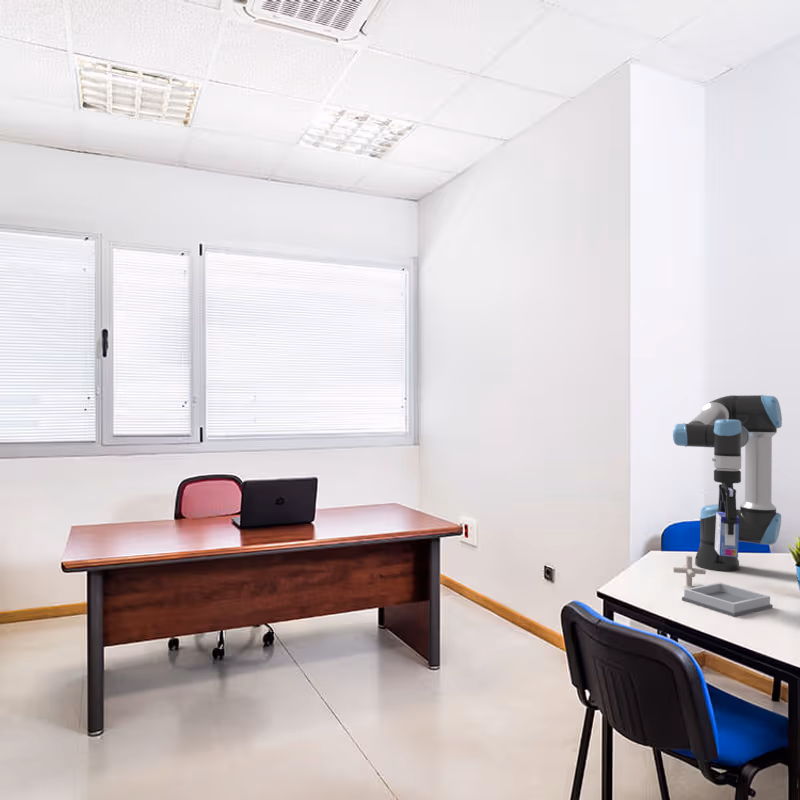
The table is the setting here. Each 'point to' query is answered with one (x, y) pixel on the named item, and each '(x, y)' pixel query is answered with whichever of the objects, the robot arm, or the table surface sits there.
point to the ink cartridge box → (720, 537)
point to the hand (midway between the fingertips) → (726, 541)
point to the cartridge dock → (727, 599)
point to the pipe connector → (689, 570)
